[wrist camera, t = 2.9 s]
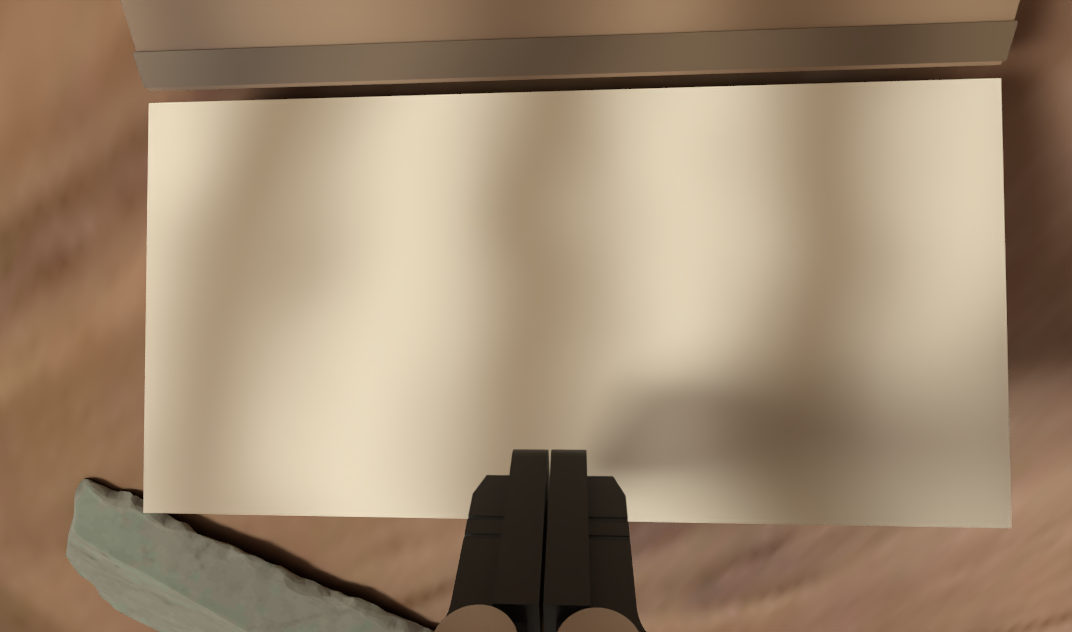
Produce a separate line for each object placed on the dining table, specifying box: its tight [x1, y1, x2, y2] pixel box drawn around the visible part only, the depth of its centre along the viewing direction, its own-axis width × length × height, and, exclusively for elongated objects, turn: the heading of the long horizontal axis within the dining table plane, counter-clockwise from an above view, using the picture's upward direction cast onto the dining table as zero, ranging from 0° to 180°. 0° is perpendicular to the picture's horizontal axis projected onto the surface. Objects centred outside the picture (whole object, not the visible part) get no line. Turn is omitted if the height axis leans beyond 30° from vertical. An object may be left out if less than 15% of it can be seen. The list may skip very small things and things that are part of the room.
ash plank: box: [143, 78, 1012, 528], centre depth 16 cm, size 20×10×2 cm, turn 92°
